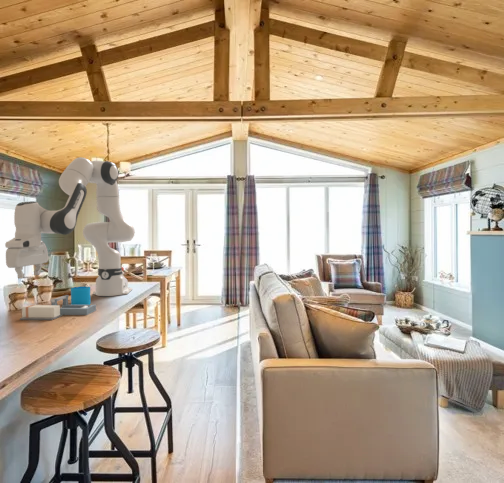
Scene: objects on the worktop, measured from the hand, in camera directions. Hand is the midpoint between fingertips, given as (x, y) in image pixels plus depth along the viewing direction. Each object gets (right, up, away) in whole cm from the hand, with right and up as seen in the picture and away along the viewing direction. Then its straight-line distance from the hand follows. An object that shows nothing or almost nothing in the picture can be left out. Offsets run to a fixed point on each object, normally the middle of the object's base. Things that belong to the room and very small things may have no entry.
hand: (29, 276), depth 142 cm
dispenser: (+14, -16, +9) cm, 23 cm away
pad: (+5, -17, 0) cm, 17 cm away
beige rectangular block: (+5, -16, 0) cm, 17 cm away
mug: (+9, -16, +25) cm, 31 cm away
